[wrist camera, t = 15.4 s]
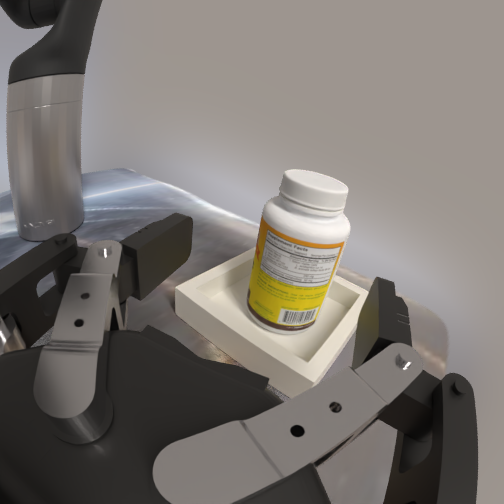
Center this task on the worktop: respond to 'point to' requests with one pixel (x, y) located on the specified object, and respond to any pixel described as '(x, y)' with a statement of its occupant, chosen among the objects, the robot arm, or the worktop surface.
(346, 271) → the worktop surface
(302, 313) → the supplement bottle
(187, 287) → the parts tray
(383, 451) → the worktop surface
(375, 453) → the worktop surface
